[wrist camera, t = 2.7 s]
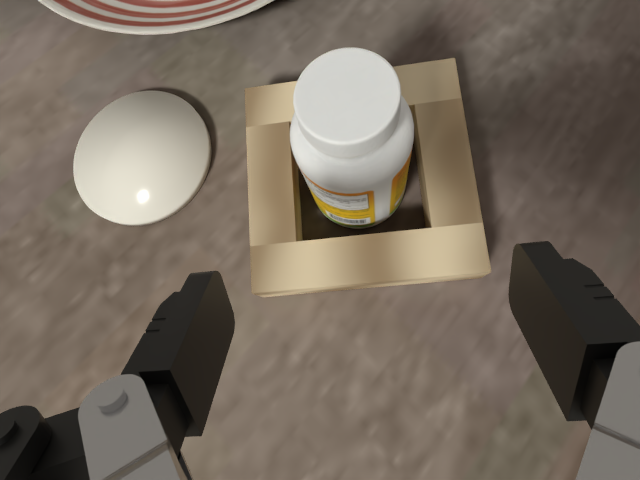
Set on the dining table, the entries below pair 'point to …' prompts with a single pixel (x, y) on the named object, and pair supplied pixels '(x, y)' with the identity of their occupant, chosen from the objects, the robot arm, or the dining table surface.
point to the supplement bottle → (352, 136)
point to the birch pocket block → (370, 249)
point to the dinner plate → (152, 13)
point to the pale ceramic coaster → (142, 158)
